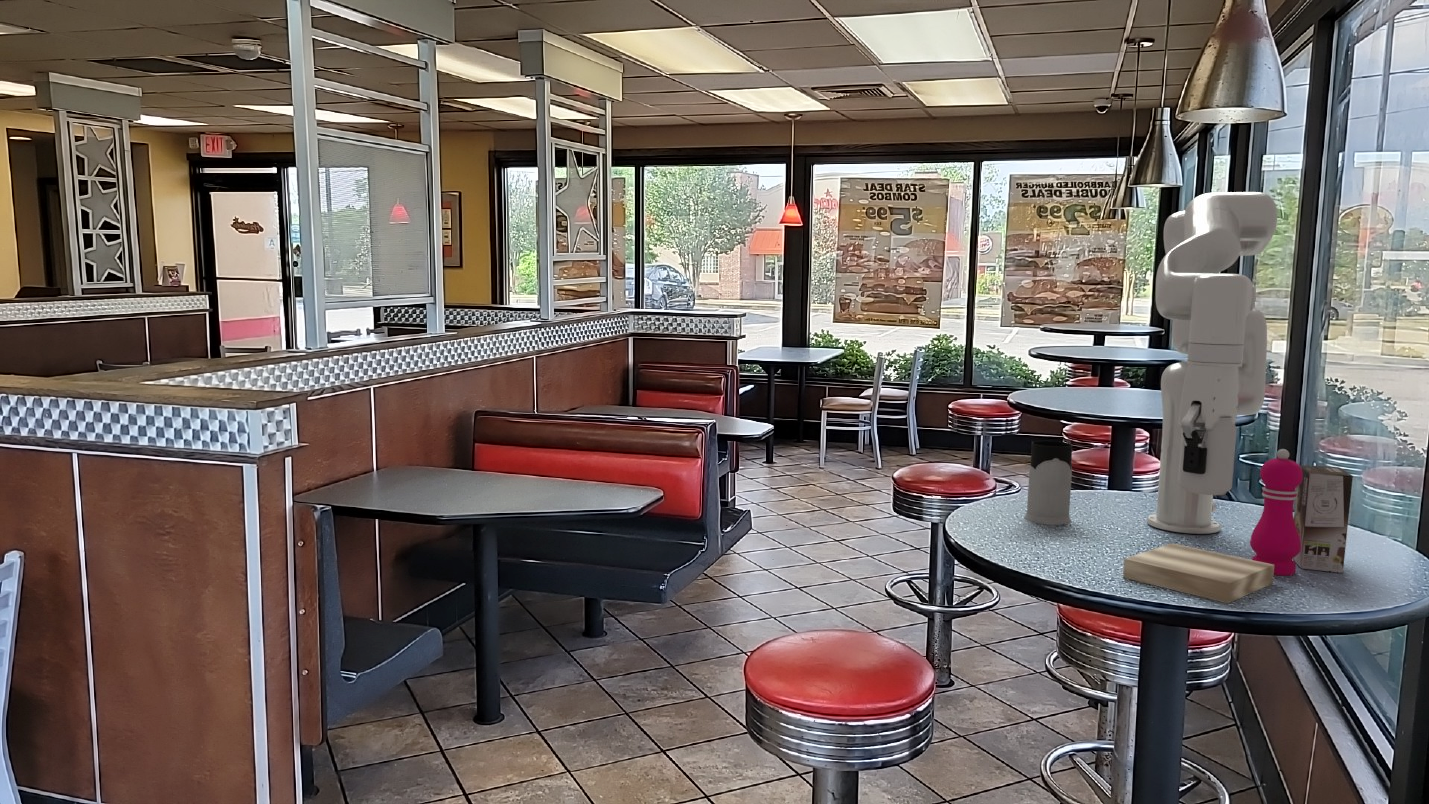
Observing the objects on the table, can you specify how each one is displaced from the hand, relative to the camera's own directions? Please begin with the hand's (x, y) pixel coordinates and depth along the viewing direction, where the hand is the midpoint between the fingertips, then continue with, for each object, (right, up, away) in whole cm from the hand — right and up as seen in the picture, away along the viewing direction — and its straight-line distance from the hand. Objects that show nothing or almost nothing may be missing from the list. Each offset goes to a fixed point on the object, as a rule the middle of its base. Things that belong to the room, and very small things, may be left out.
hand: (1206, 469), depth 155 cm
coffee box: (+25, -17, +13) cm, 33 cm away
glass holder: (-10, -12, +44) cm, 47 cm away
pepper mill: (+15, -17, +9) cm, 24 cm away
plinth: (0, -17, +2) cm, 18 cm away
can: (0, -4, 0) cm, 4 cm away
